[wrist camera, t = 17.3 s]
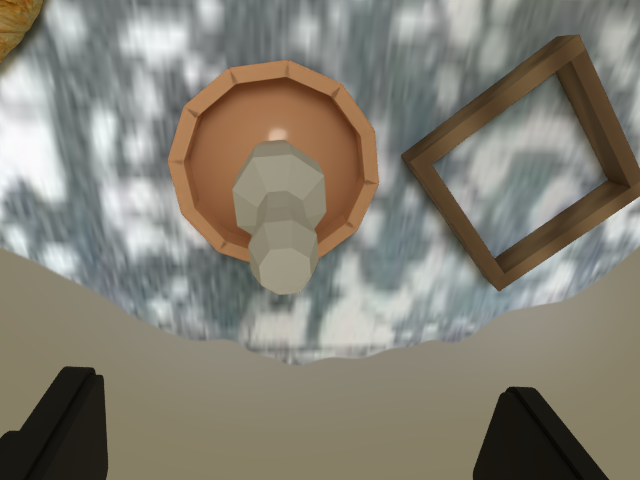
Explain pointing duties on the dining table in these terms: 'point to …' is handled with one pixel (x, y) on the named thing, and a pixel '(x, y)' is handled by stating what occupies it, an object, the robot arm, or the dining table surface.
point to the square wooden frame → (599, 127)
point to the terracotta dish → (268, 125)
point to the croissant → (16, 22)
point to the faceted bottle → (280, 214)
